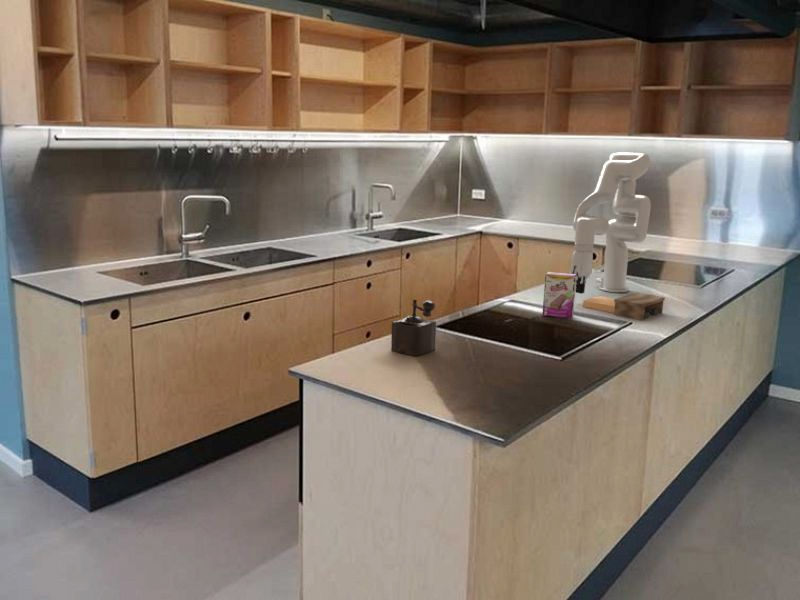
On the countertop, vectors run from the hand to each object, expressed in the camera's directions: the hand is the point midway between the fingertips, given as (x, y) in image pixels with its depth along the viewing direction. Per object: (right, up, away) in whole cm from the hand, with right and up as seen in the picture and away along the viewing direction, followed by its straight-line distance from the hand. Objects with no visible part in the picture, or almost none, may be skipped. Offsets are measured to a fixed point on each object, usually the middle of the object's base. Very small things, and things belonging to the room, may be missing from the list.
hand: (579, 292), depth 294 cm
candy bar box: (-14, -9, -22) cm, 27 cm away
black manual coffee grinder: (-68, -19, -69) cm, 98 cm away
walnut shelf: (+18, -8, -16) cm, 25 cm away
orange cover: (+9, -6, -7) cm, 13 cm away
